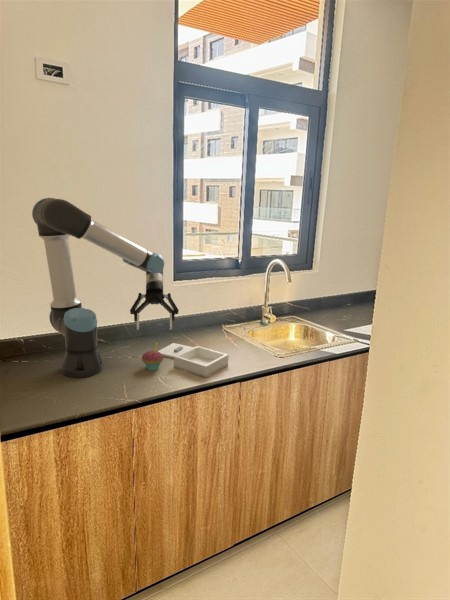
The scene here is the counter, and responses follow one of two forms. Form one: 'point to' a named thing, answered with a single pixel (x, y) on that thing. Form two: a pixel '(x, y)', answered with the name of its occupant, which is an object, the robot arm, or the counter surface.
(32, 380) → the counter surface
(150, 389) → the counter surface
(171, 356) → the bin lid
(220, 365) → the bin
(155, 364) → the cupcake
